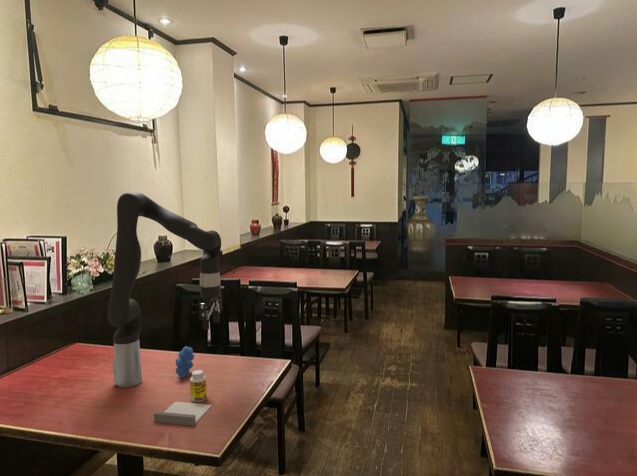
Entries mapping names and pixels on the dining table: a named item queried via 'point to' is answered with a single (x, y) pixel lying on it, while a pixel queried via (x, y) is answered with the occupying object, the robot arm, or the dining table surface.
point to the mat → (182, 413)
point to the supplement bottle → (198, 386)
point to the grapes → (184, 361)
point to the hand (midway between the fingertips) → (211, 325)
